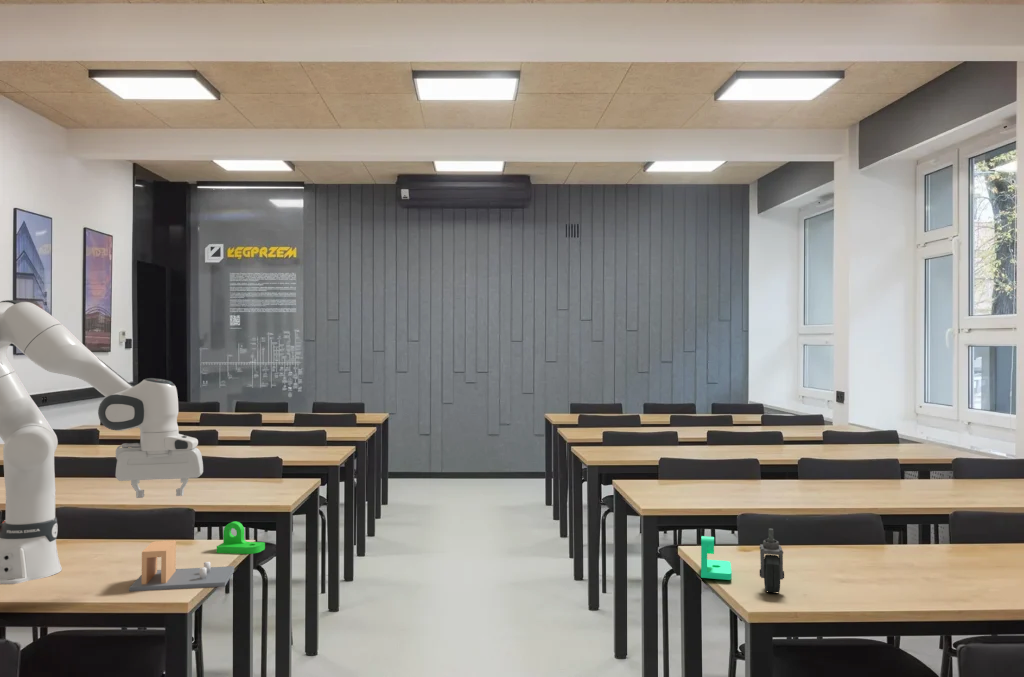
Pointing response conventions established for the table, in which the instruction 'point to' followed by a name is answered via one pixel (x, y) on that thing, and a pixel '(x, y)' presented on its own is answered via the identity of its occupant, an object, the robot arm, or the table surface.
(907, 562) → the table surface
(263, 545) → the mechanical part
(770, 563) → the caster wheel
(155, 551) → the arch block
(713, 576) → the camera mount
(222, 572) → the plate
